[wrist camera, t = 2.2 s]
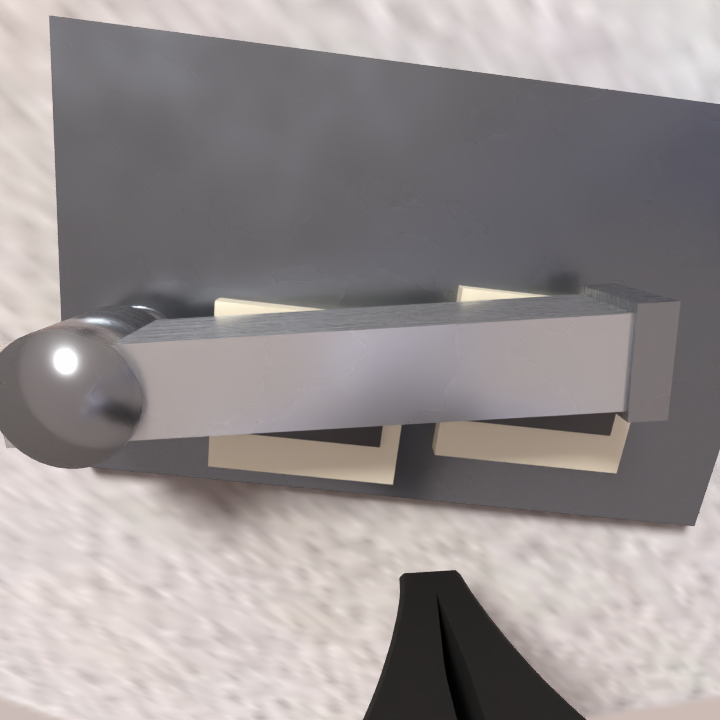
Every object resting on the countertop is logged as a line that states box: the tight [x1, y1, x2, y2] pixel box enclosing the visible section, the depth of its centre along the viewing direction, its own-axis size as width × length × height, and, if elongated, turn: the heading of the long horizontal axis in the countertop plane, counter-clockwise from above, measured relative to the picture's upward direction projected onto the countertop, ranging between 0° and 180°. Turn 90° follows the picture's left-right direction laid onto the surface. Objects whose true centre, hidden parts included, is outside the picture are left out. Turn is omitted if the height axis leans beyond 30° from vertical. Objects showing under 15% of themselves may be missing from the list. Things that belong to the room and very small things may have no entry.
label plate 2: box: [432, 285, 631, 473], centre depth 14 cm, size 5×4×1 cm
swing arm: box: [0, 283, 681, 469], centre depth 11 cm, size 13×3×3 cm, turn 93°
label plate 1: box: [208, 298, 402, 485], centre depth 14 cm, size 5×4×1 cm
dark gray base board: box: [49, 16, 720, 526], centre depth 14 cm, size 18×11×1 cm, turn 83°
